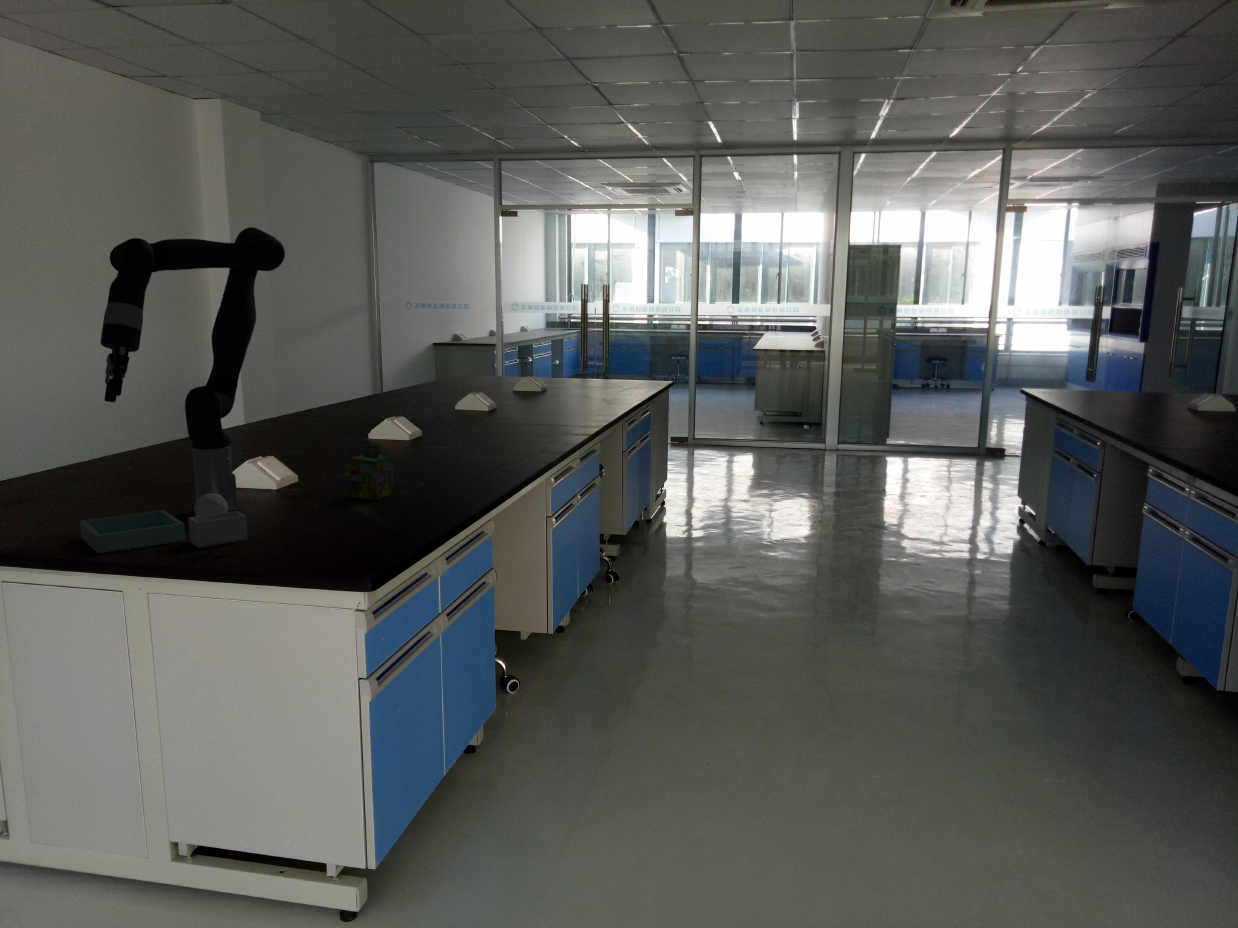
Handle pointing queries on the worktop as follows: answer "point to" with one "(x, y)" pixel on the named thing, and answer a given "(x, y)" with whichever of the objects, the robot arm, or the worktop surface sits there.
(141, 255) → the robot arm
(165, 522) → the teal crate
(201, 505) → the geometric ball
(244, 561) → the worktop surface
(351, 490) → the chalk box
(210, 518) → the grey crate
